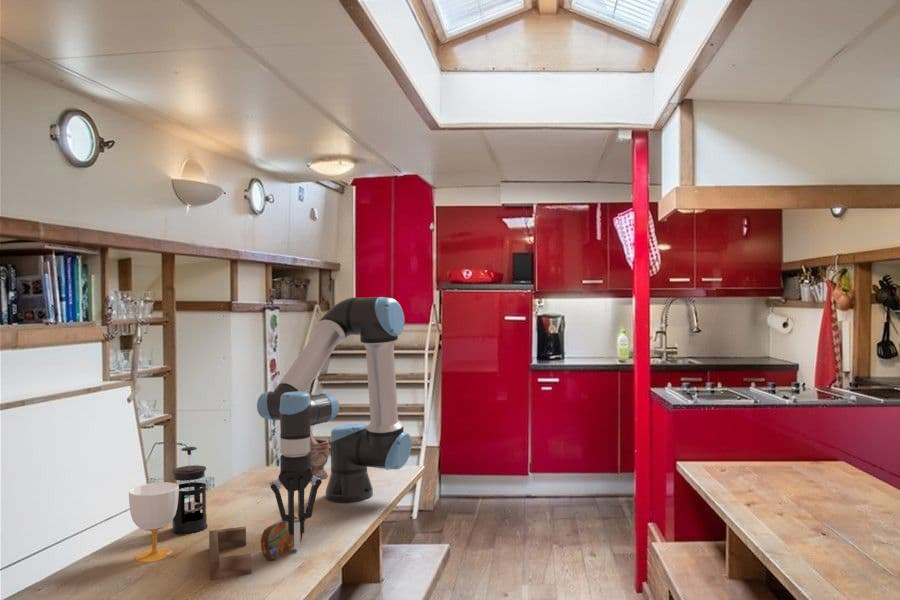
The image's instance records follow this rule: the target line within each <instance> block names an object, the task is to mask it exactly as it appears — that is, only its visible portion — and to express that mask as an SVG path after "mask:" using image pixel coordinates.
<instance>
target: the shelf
mask: <svg viewBox="0 0 900 600" xmlns="http://www.w3.org/2000/svg"><path fill="white" fill-rule="evenodd" d="M208 533H209V535H208V539H209V540H208V543H209V544H208V551H209V555H208V556H209V580H210V581H213V580H214V581H215V580H221V579H225V578H232V577H238V576H244V575H250V574H251V575H252V555H251V554H252V553H247V554H246V553H245V554H238V555H231V556H230V555H229V556H223V557H220V552H219V551H220V550H224V549H225V550H226V549H231V548H239V547H246V546H247V528H246V525H245V526H238V527H230V528H221V529H213V530H209V531H208ZM219 549H220V550H219Z"/></svg>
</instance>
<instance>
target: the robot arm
mask: <svg viewBox="0 0 900 600" xmlns="http://www.w3.org/2000/svg"><path fill="white" fill-rule="evenodd" d="M404 326H405V314H404V311H403V308H402V306H401V304H400V303H399V302H398V301H397V300H396V299H394V298H391V297H383V296H379V297H376V296H374V297H349V298H345V299H344V300H341V301H340V302H338V303H336V304H334V306H332V307H331V308H329V310H327V312H326V313H324V315H323V316H322V317H321V318H320V320H319V321H318V322H317V324H316V331H315V333H313V335H312V337H311V338H310V340H309V341H308V342H307V344H306V345H305V346H304V348H302V349H303V350H302V351H301V352H300V354H299V355H298V356H297V358H296V359H295V360H294V362H293V363H292V364H291V366H290V368H289V369H288V370H287V372H286V374H285V375H284V376H283V377H282V379H281V381H280V382H279V383H278V384H277V386H276V387H275V389H274V390H273V391H271V390H270V391H265V392H263V393H261V394H260V395H259V397H258V399H257V402H256V411H257V413H258V415H259V417H261V418H263V419H266V420H271V421H279V427H280V435H279V437H280V439H279V441H280V443H279V445H280V446H279V448H280V454H281V455H280V457H279V459H280V460H279V461H280V462H279V463H280V468H279V469H280V472H279V475H278V478H277V479H276V480H275V481H272V482H270V483H269V487H270V489H271V490H272V492H273V493H274V495H275V499H276V504H277V506H278V507H277V508H278V511H279V515H280V518H281V519H282V520H283V521H287V522H288V532H289V534H290V535H293V547H294V548H293V549H294V550H296V549H301V544H300V534H302V535H303V534H304V533H305V521H306V520H307V519H310V518H312V515H313V511H314V507H315V502H316V499H317V493H318V489H319V488H320V487H321V485H322V480H321V479H320V478H318V477H315V476H313V473H312V471H311V454H310V453H309V452H310V451H311V439H310V433H311V432H312V431H311V432H310V429H311V427H312V426H315V425H316V426H317V425H319V424H323V423H328V422H330V421H331V420H333V419H335V418H336V417H337V416H338V414H339V412H340V404H339V403H340V402H339V400H338V399H337V397H336V396H335V395H334V394H332V393H328V392H326V393H325V392H324V393H319V394H310V393H309V392H307V390H308V389H309V388H310V386H311V384H312V383H313V382H314V380H315V378H316V377H317V375H318V374H319V372H320V371H321V370H322V369H323V367H324V366H325V363H326V362H327V361H328V359H329V357H330V356H331V355H332V353H333V352H334V351H335V348H336V347H337V346H338V345H340V344H341V343H343V342H345V339H346V338H347V337H349V336H353V335H356V336H357V335H358V336H359V337H360V339H359V340H360V344H362V345H363V346H364V347H365V355H366V369H367V372H366V373H367V384H368V385H367V387H368V399H369V400H368V401H369V415H370V422H369V423H368V425H367V423H363V422H362V423H361V422H360V423H350V424H344V425H339V426H337V427H334V428H333V429H332V430H331V433H330V441H329V444H330V475H329V479H328V481H327V485H326V490H325V500H327V501H329V502H331V503H336V504H351V503H359V502H363V501H367V500H369V499H371V498H372V497H373V495H374V490H373V486H372V482H371V479H370V476H369V473H368V468H373V469H374V468H375V469H381V470H382V469H384V470H387V471H389V470H397V471H398V470H400V469H402V468H403V467H404V466H405V465H406V464H407V462H408V460H409V457H410V454H411V452H412V443H413V442H412V436H411V435H410V433H408V432H406V431H405V430H404V424H403V422H401V421H400V420H399V415H398V414H399V413H398V399H397V398H398V397H397V381H396V364H395V363H396V362H395V349H394V345H395V344H396V343H397V342H398V341H399V335H401V334H402V333H403V332H404ZM309 483H311V487H310V492H309V495H308V500H307V504H306V508H305V489H306V488H307V487H308V485H309ZM281 485H282V486H283V487H284V489H285V490H286V491H287V512H286V510H285V506H284V502H283V499H282V495H281V492H280V489H281ZM296 491H297V503H298V504H297V515H298V517H297V518H298V519H294V516H295V492H296ZM286 513H287V514H286Z"/></svg>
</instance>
